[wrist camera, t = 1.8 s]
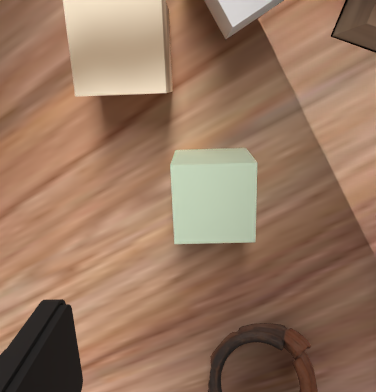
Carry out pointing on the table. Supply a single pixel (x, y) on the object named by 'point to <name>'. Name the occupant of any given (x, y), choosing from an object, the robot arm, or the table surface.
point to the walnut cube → (357, 24)
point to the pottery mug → (269, 335)
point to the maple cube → (119, 46)
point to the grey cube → (237, 13)
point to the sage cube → (214, 196)
